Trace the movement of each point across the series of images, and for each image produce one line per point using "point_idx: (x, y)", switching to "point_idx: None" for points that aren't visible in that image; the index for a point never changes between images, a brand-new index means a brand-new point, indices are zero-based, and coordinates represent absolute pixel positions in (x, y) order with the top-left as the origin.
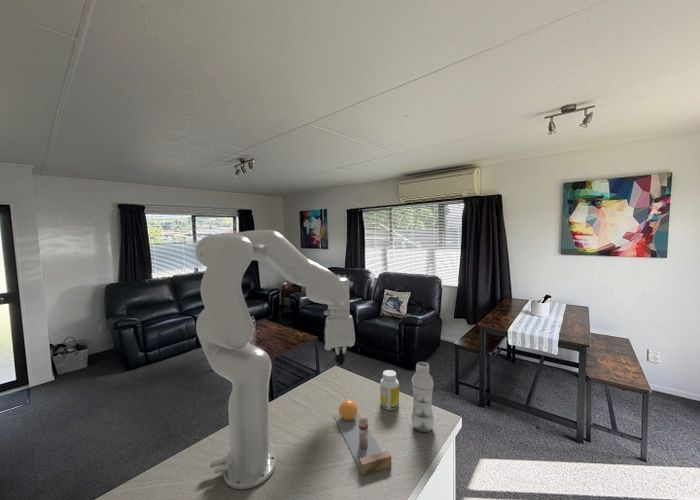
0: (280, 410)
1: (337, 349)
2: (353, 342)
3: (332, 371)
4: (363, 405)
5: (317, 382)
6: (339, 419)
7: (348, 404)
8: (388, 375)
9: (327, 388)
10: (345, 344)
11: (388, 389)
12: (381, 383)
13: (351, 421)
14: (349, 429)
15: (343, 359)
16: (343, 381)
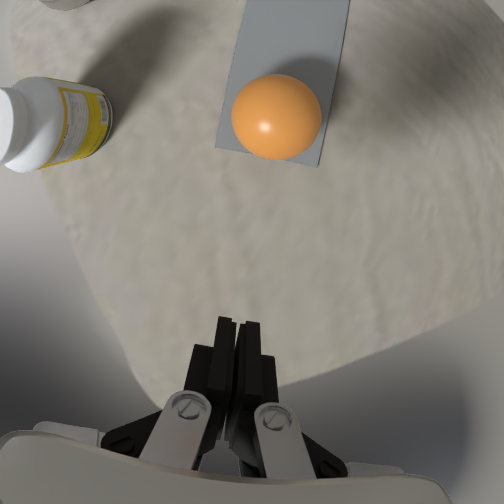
0: (436, 297)
1: (279, 457)
2: (12, 446)
3: None
4: (169, 167)
5: None
6: None
7: (289, 94)
8: (3, 101)
9: None
10: (163, 491)
11: (55, 83)
12: (55, 123)
13: None
14: (305, 61)
15: (203, 356)
16: (168, 348)
